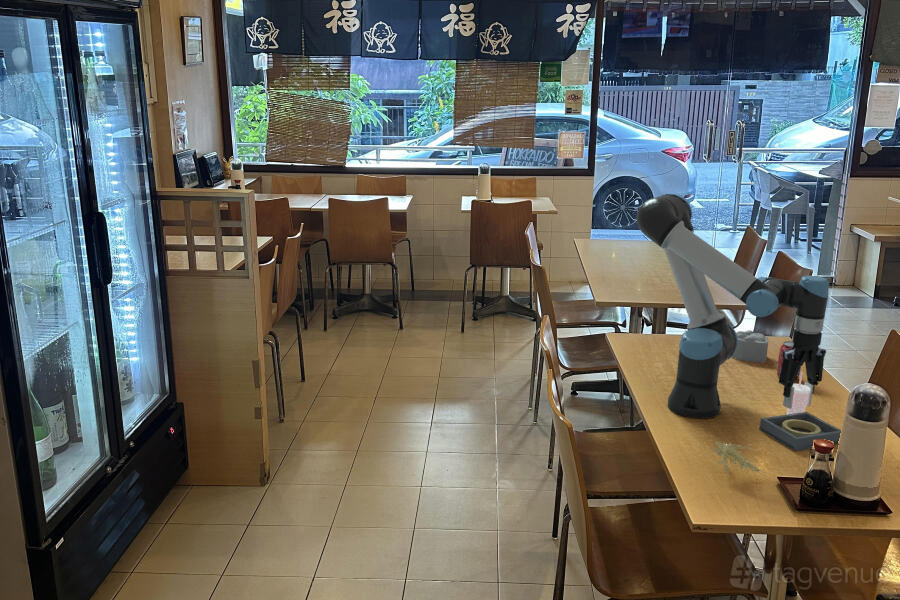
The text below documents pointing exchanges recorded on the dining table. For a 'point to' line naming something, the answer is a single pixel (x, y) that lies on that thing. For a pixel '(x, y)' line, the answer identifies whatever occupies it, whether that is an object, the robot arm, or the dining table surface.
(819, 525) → the dining table surface
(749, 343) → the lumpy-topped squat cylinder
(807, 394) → the beverage cup
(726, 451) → the plant sprig
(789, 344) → the soda can
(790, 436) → the walled box
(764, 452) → the dining table surface
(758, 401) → the dining table surface
